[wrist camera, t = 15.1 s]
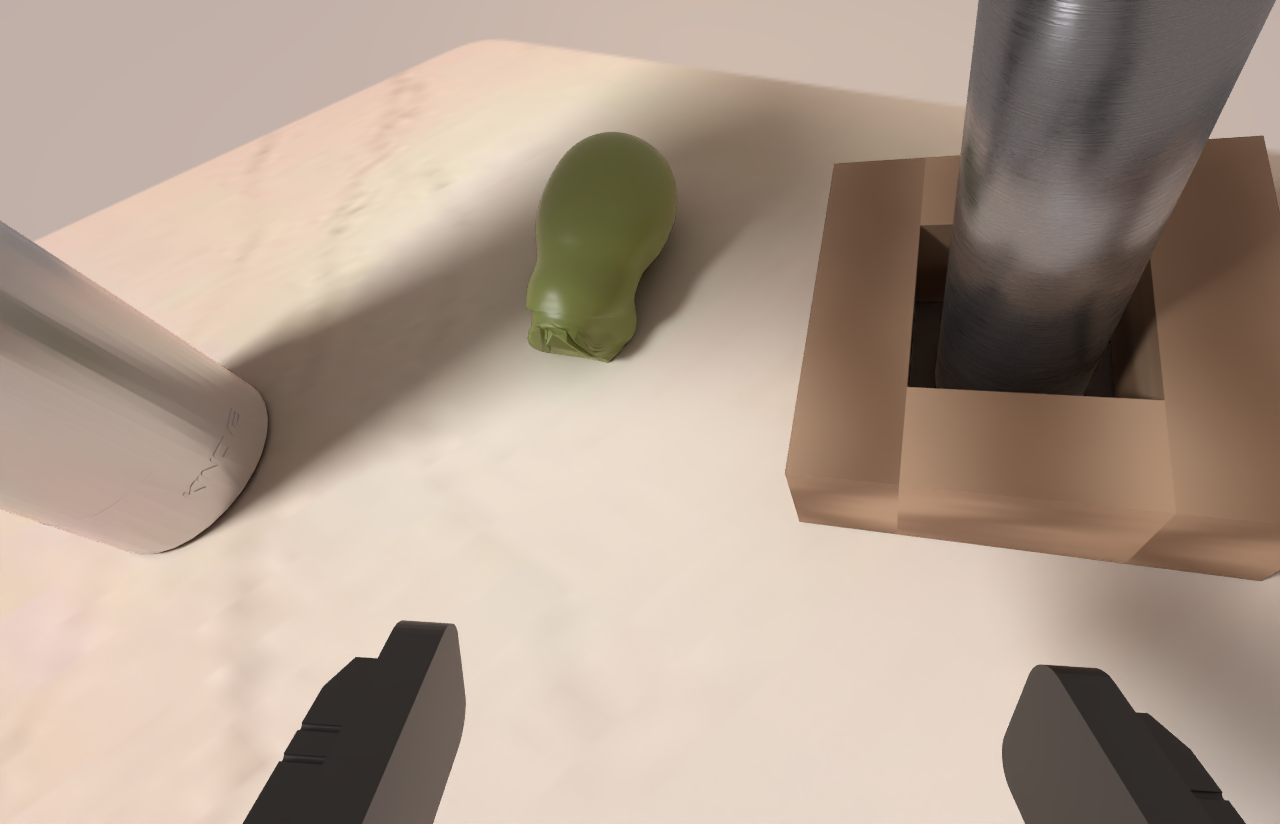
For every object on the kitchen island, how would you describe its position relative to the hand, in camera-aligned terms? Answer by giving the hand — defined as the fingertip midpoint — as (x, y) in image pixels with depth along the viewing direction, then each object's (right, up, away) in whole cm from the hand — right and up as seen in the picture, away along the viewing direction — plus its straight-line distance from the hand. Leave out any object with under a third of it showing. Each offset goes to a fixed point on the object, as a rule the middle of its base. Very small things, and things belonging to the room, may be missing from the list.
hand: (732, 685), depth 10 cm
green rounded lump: (-2, +9, +21) cm, 23 cm away
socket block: (+11, +5, +13) cm, 18 cm away
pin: (+11, +5, +13) cm, 18 cm away
